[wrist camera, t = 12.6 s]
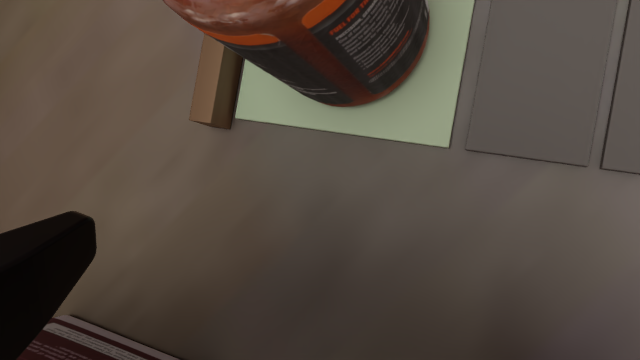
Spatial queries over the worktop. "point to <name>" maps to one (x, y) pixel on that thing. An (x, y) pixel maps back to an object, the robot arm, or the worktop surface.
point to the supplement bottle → (320, 42)
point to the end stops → (215, 85)
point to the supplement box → (85, 343)
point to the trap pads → (556, 83)
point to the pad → (388, 111)
